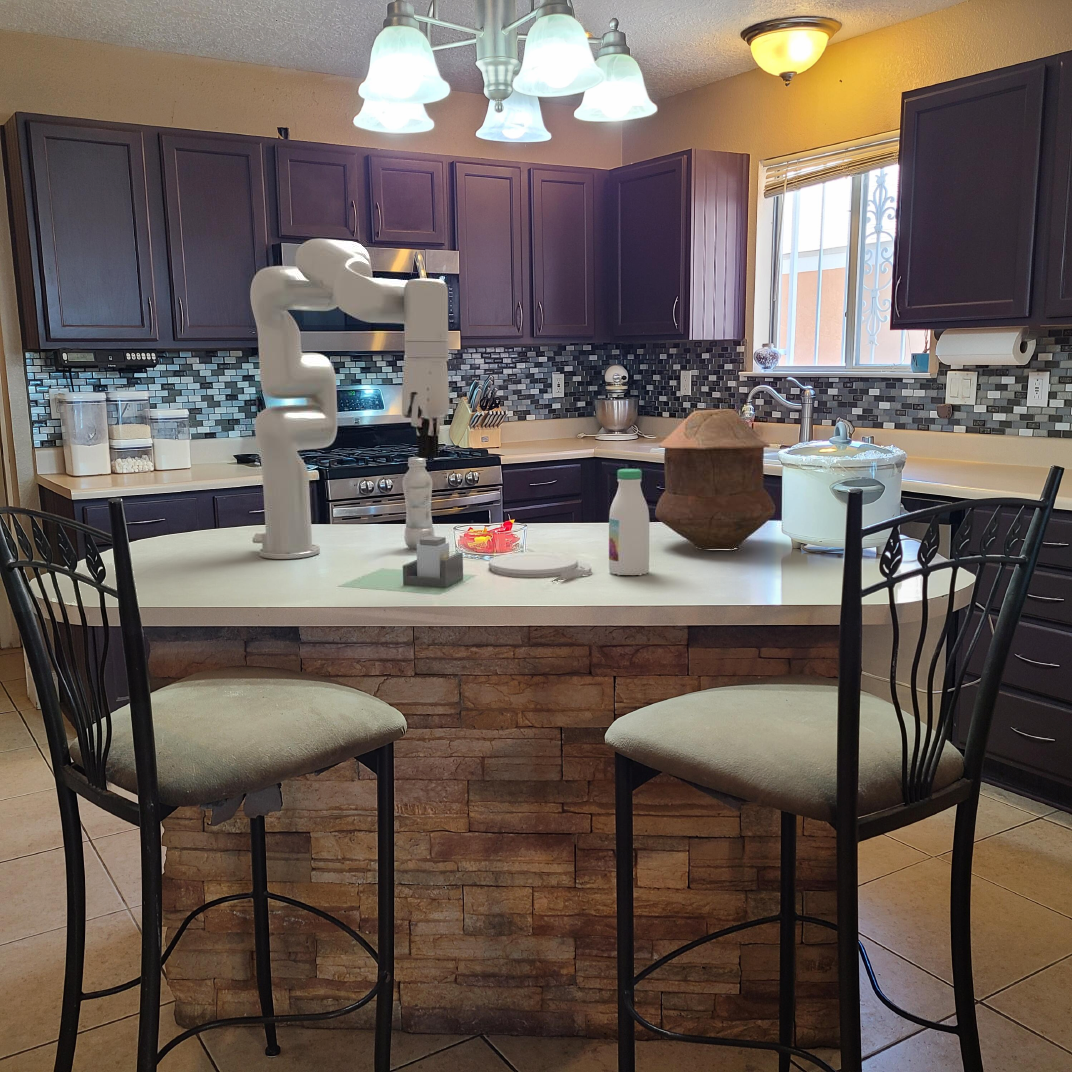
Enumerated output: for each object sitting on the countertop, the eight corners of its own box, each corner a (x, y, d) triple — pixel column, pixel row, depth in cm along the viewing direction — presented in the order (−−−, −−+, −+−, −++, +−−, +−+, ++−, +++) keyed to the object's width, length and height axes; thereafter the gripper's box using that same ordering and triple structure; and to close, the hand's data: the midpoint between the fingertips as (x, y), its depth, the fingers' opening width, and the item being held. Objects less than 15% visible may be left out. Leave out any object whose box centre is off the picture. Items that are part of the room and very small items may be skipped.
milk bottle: (652, 569, 194) (654, 468, 190) (643, 578, 186) (644, 472, 183) (614, 567, 196) (614, 466, 193) (604, 575, 189) (604, 471, 185)
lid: (601, 582, 185) (601, 566, 184) (495, 587, 181) (494, 571, 181) (581, 564, 201) (581, 549, 201) (483, 568, 198) (483, 554, 197)
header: (403, 585, 177) (402, 557, 176) (422, 576, 184) (421, 550, 183) (445, 588, 174) (445, 560, 173) (463, 579, 181) (462, 552, 180)
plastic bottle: (430, 552, 214) (427, 459, 210) (400, 551, 215) (397, 459, 212) (439, 546, 220) (436, 456, 217) (409, 545, 221) (407, 456, 218)
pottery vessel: (778, 561, 200) (783, 412, 195) (651, 558, 205) (652, 412, 200) (770, 538, 226) (774, 405, 220) (657, 536, 230) (659, 406, 225)
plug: (417, 583, 178) (416, 539, 177) (427, 578, 182) (426, 535, 180) (442, 585, 176) (441, 541, 175) (452, 580, 180) (451, 537, 179)
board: (338, 592, 177) (338, 586, 177) (382, 574, 192) (381, 568, 192) (439, 601, 170) (439, 594, 170) (476, 581, 185) (476, 575, 185)
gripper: (426, 352, 180) (428, 452, 184) (386, 352, 166) (389, 461, 170) (464, 352, 178) (465, 454, 181) (426, 352, 164) (428, 463, 167)
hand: (428, 457), depth 175 cm, fingers closed
